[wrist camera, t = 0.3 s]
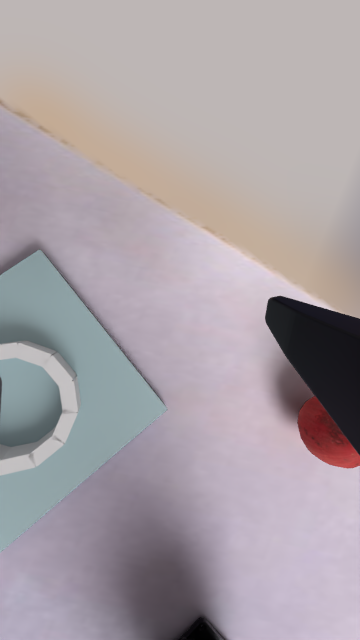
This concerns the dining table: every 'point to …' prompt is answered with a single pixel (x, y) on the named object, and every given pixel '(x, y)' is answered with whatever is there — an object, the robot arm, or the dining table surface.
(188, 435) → the dining table surface
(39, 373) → the board
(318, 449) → the onion
